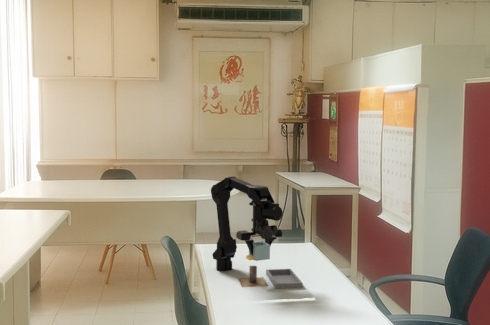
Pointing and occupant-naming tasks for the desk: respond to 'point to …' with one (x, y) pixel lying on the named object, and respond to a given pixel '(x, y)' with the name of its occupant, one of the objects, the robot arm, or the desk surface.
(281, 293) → the desk surface
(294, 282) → the tray
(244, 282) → the stake
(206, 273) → the desk surface
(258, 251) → the sleeve
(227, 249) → the robot arm
